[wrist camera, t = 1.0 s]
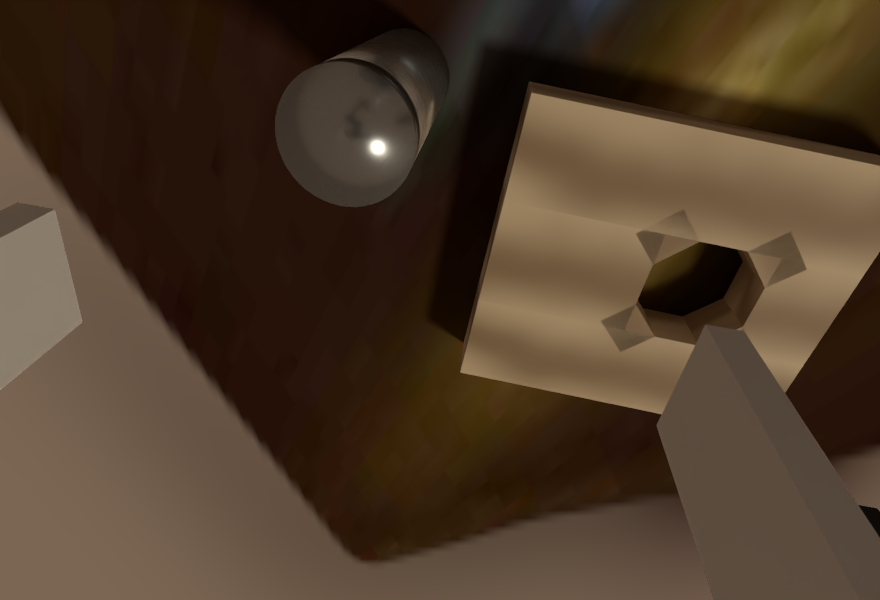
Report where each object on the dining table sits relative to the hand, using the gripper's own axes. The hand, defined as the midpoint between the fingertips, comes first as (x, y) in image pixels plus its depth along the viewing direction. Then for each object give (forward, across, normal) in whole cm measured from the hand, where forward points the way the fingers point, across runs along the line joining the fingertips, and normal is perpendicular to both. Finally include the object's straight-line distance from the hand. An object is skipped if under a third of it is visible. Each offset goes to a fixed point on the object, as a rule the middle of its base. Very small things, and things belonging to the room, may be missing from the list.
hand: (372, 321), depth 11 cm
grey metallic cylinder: (+19, -3, +1) cm, 20 cm away
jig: (+19, +12, -6) cm, 24 cm away
